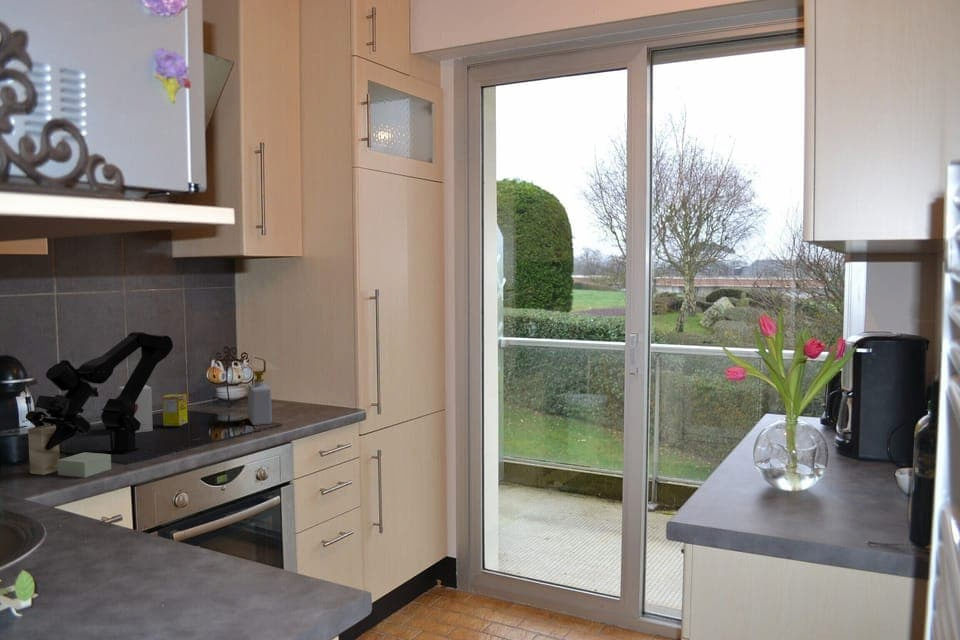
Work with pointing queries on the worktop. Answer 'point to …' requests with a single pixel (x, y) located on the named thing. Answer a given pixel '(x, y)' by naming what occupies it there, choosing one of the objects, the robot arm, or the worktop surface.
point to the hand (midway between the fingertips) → (39, 448)
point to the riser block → (84, 464)
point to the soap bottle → (259, 400)
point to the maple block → (42, 450)
